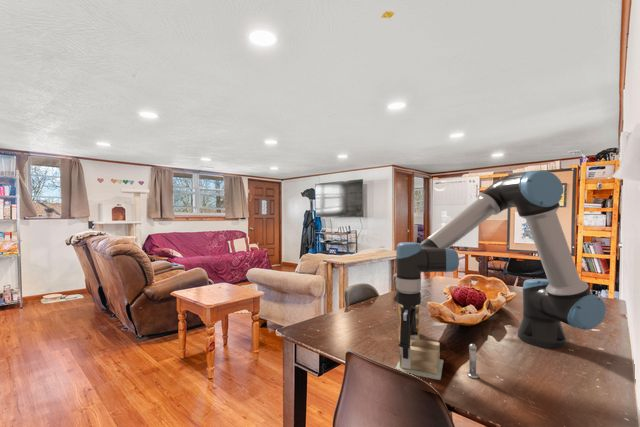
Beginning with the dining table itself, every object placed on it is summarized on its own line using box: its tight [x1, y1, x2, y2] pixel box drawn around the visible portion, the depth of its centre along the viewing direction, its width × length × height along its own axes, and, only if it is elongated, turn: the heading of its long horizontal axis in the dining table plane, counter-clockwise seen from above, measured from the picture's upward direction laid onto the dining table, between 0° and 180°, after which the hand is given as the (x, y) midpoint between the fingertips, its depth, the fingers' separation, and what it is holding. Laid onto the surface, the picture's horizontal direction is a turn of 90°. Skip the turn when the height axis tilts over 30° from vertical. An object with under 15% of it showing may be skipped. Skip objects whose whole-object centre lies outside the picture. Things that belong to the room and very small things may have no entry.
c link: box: [399, 338, 441, 374], centre depth 99 cm, size 11×9×6 cm
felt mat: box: [395, 359, 444, 381], centre depth 99 cm, size 13×13×1 cm
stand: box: [466, 343, 479, 380], centre depth 93 cm, size 3×3×10 cm
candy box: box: [397, 303, 421, 342], centre depth 115 cm, size 9×4×15 cm, turn 13°
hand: (408, 360), depth 101 cm, fingers closed on c link, 9 cm apart
